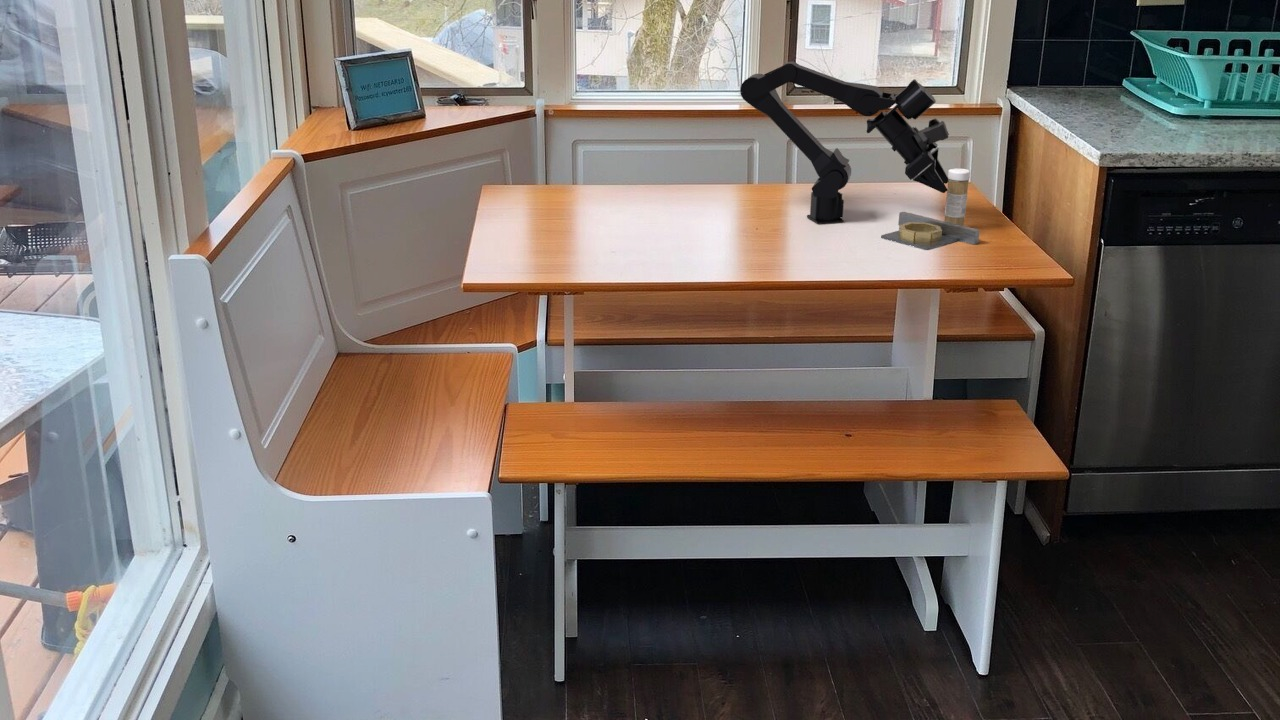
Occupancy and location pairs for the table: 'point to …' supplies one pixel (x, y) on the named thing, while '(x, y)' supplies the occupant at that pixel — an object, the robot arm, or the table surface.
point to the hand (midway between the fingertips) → (946, 186)
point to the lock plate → (930, 232)
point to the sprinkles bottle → (956, 195)
